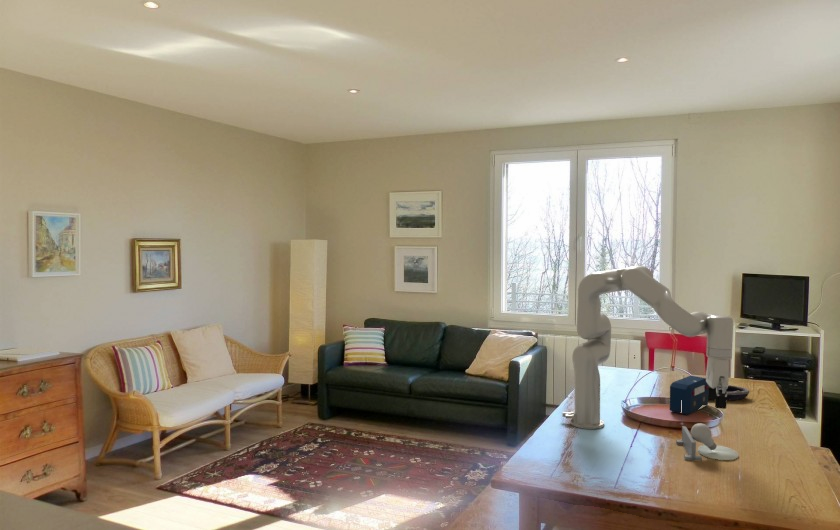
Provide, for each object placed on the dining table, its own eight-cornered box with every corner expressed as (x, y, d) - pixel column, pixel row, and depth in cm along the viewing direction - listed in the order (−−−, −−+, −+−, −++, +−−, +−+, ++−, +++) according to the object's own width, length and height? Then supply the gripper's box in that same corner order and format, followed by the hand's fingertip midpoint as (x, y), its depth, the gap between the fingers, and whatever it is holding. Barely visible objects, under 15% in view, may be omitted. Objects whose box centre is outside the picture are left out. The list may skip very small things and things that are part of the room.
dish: (753, 404, 251) (753, 392, 251) (675, 399, 260) (675, 388, 260) (745, 394, 266) (745, 383, 266) (671, 390, 275) (671, 379, 275)
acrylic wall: (685, 459, 191) (685, 441, 191) (676, 442, 207) (676, 425, 207) (701, 461, 190) (702, 442, 190) (691, 443, 206) (691, 426, 205)
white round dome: (702, 458, 192) (702, 456, 192) (694, 445, 204) (694, 443, 204) (742, 461, 189) (742, 459, 189) (732, 448, 201) (732, 446, 201)
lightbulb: (726, 450, 193) (707, 427, 190) (709, 459, 195) (690, 437, 192) (719, 438, 199) (701, 416, 196) (702, 446, 200) (684, 425, 198)
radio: (688, 417, 235) (689, 367, 233) (667, 412, 241) (668, 364, 240) (711, 406, 248) (712, 359, 247) (690, 402, 255) (691, 356, 254)
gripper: (700, 346, 204) (698, 395, 205) (713, 357, 187) (710, 410, 188) (724, 348, 202) (722, 397, 203) (739, 359, 185) (736, 412, 187)
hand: (716, 403), depth 196 cm, fingers open, 9 cm apart
